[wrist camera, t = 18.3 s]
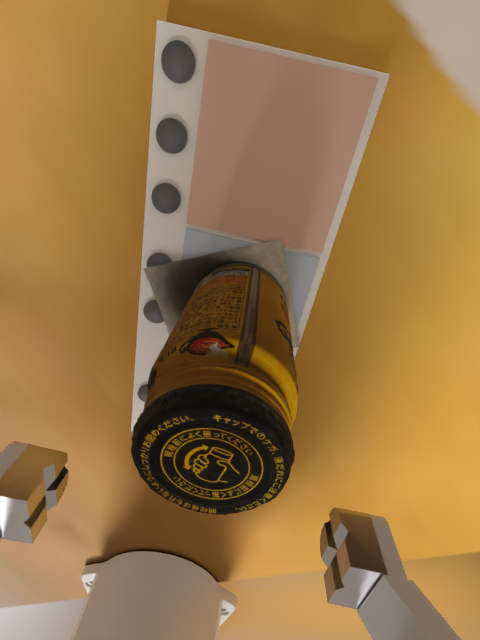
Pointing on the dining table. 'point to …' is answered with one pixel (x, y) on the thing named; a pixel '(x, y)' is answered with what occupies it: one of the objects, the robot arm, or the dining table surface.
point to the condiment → (221, 382)
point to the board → (247, 162)
